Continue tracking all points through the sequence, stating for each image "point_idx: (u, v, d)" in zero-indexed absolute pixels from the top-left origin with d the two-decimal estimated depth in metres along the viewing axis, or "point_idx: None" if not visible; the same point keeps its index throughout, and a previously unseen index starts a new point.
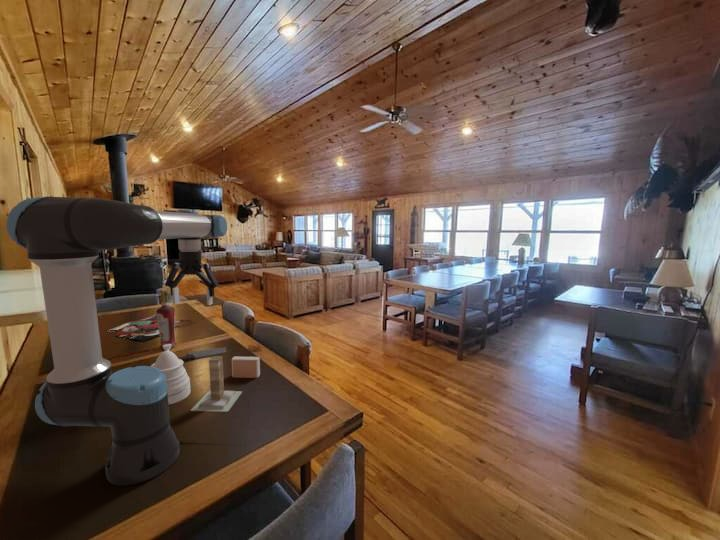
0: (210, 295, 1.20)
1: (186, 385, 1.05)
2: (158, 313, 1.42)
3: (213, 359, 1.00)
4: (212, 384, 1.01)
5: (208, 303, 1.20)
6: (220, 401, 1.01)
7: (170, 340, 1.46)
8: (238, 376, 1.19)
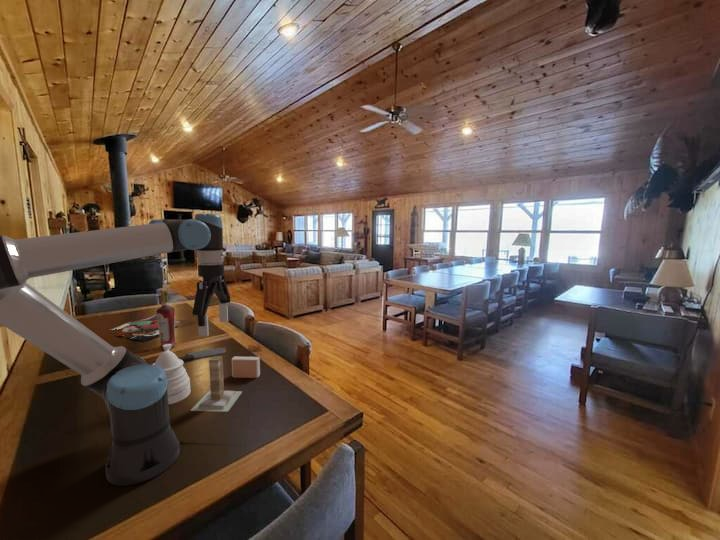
0: None
1: (186, 385, 1.05)
2: (158, 313, 1.42)
3: (213, 359, 1.00)
4: (212, 384, 1.01)
5: (199, 333, 0.93)
6: (220, 401, 1.01)
7: (170, 340, 1.46)
8: (238, 376, 1.19)
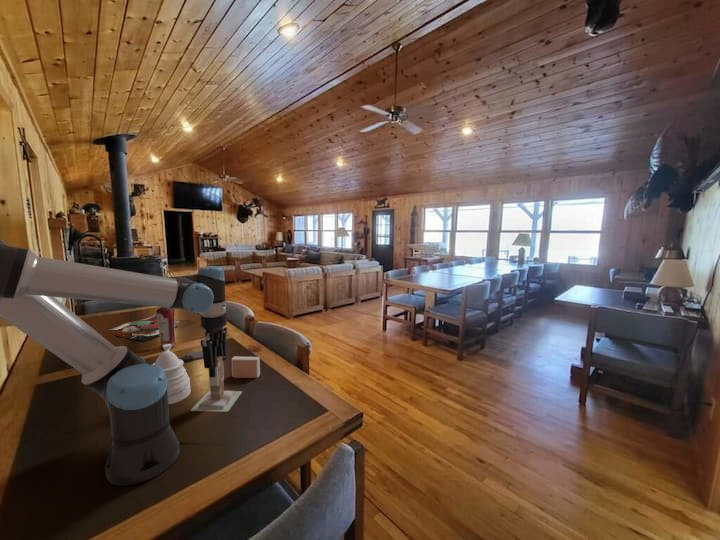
0: None
1: (186, 385, 1.05)
2: (158, 313, 1.42)
3: None
4: None
5: (210, 382, 1.01)
6: (220, 401, 1.01)
7: (170, 340, 1.46)
8: (238, 376, 1.19)
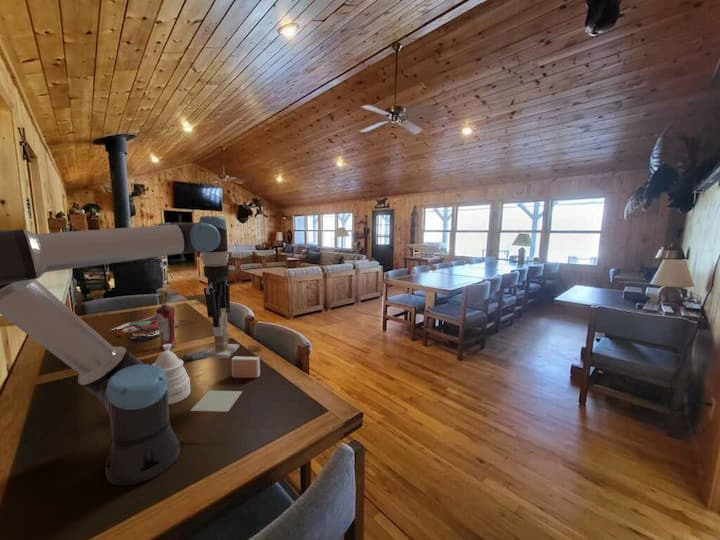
0: None
1: (186, 385, 1.05)
2: (158, 313, 1.42)
3: None
4: None
5: (214, 333, 1.01)
6: (224, 352, 1.02)
7: (170, 340, 1.46)
8: (238, 376, 1.19)
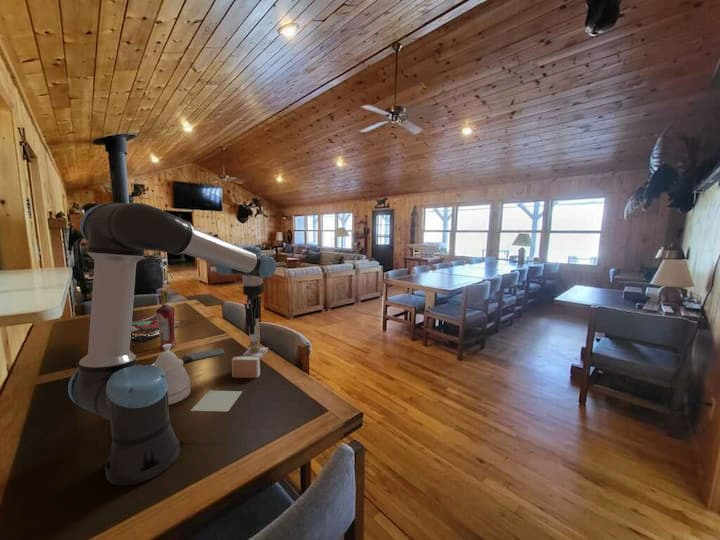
0: None
1: (186, 385, 1.05)
2: (158, 313, 1.42)
3: None
4: None
5: (250, 339, 1.27)
6: (258, 353, 1.28)
7: (170, 340, 1.46)
8: (238, 376, 1.19)
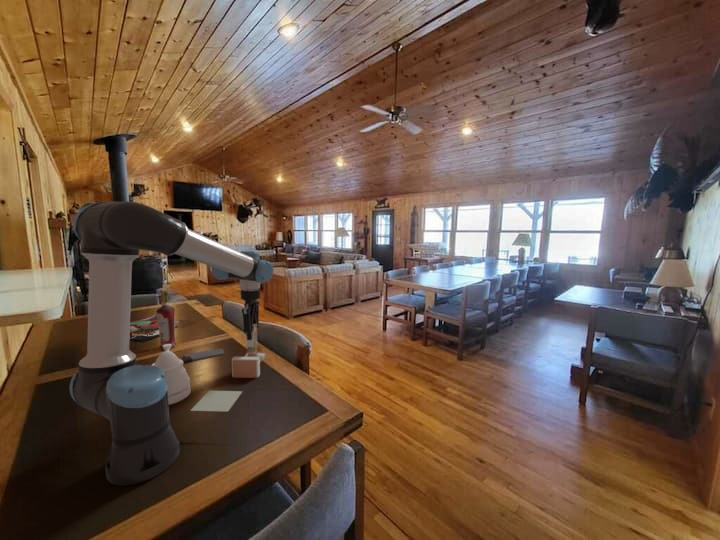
0: None
1: (186, 385, 1.05)
2: (158, 313, 1.42)
3: None
4: None
5: (247, 344, 1.25)
6: None
7: (170, 340, 1.46)
8: (238, 376, 1.19)
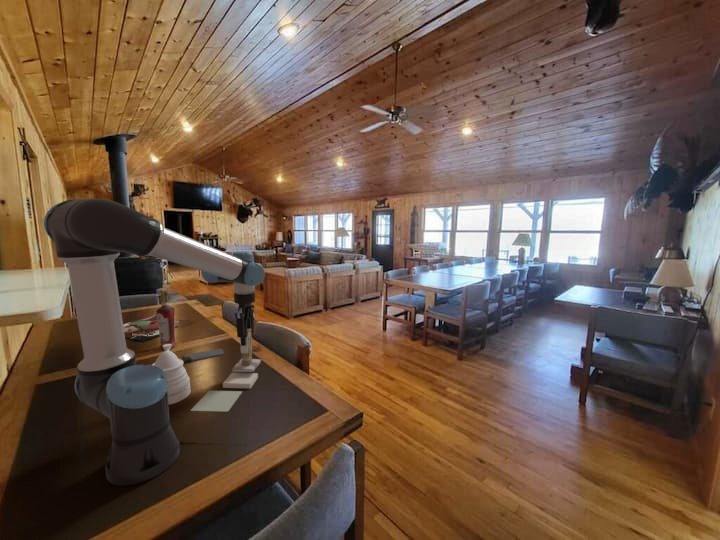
0: None
1: (186, 385, 1.05)
2: (158, 313, 1.42)
3: None
4: None
5: (241, 350, 1.19)
6: (249, 366, 1.19)
7: (170, 340, 1.46)
8: None
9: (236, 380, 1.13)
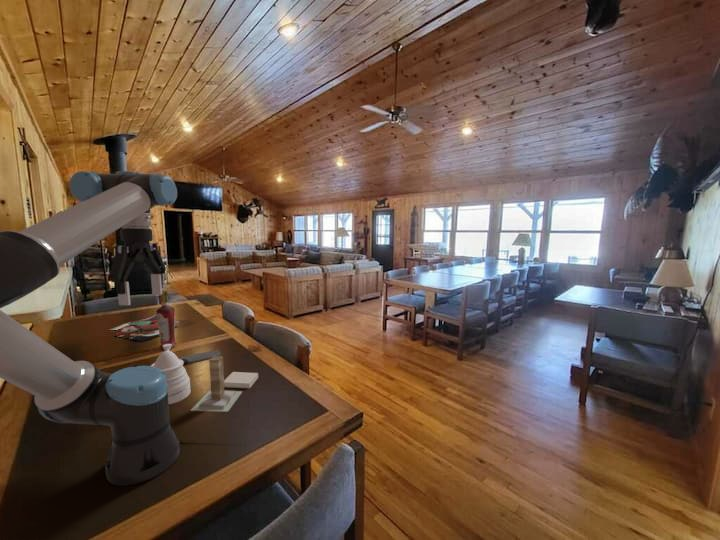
0: None
1: (186, 385, 1.05)
2: (158, 313, 1.42)
3: (213, 359, 1.00)
4: (212, 384, 1.01)
5: None
6: (220, 401, 1.01)
7: (170, 340, 1.46)
8: None
9: (236, 379, 1.14)
